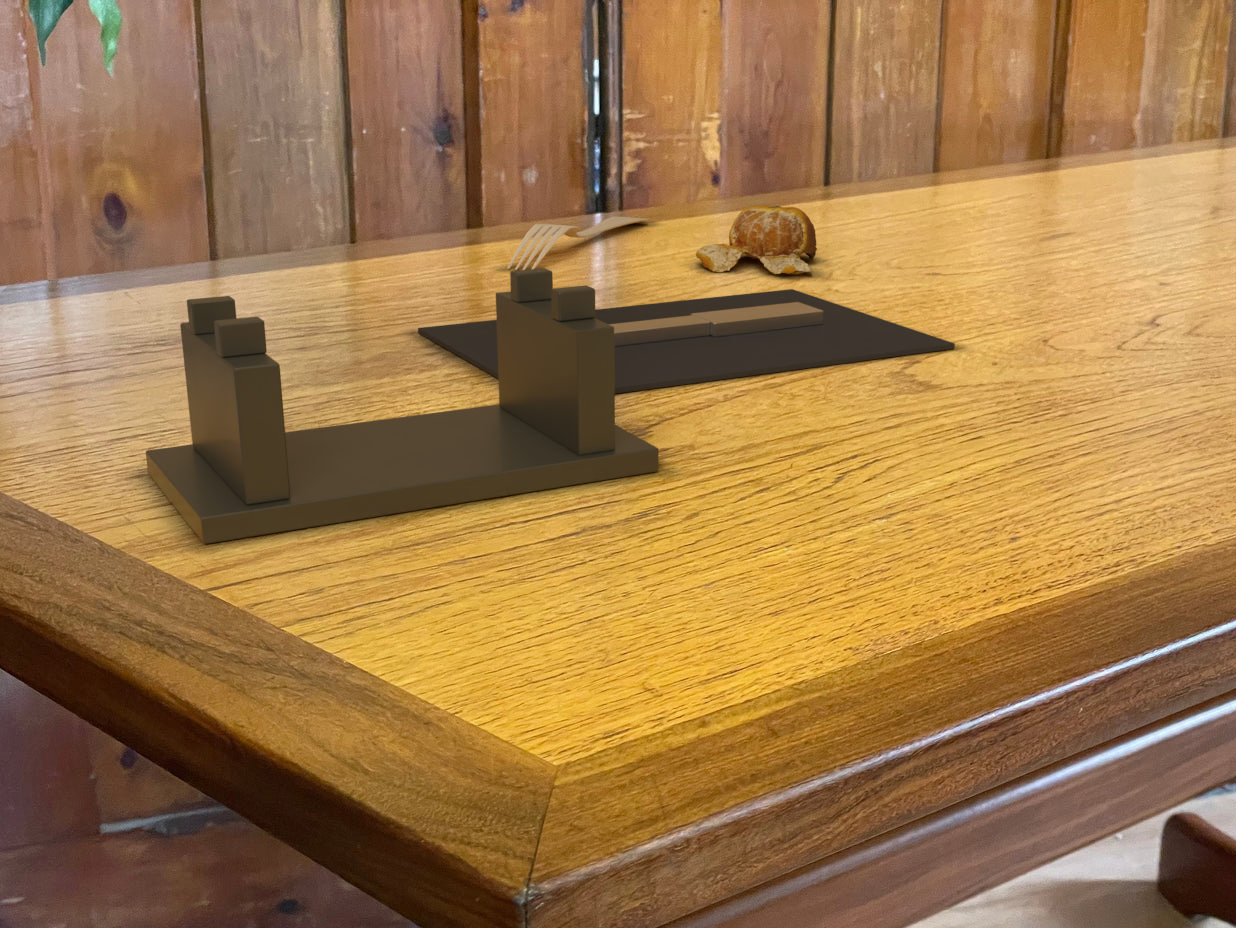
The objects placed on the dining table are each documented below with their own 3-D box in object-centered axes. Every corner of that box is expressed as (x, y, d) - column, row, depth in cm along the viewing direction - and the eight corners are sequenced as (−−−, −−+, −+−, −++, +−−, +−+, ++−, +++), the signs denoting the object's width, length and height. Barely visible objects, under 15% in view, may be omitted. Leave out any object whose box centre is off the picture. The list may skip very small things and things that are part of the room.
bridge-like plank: (523, 359, 80) (523, 344, 80) (503, 348, 82) (502, 333, 82) (823, 324, 89) (823, 310, 89) (797, 315, 91) (798, 301, 91)
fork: (653, 254, 123) (654, 217, 122) (539, 271, 103) (540, 227, 103) (619, 251, 124) (620, 215, 123) (499, 268, 104) (500, 225, 104)
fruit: (686, 269, 105) (686, 212, 104) (731, 248, 112) (732, 195, 111) (806, 279, 102) (808, 222, 101) (844, 258, 110) (847, 204, 108)
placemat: (540, 403, 74) (540, 397, 74) (418, 333, 87) (417, 327, 87) (954, 348, 85) (955, 343, 85) (792, 293, 98) (792, 289, 98)
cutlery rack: (203, 545, 56) (182, 342, 53) (147, 474, 63) (127, 293, 61) (659, 471, 65) (659, 294, 62) (564, 417, 72) (560, 256, 69)
